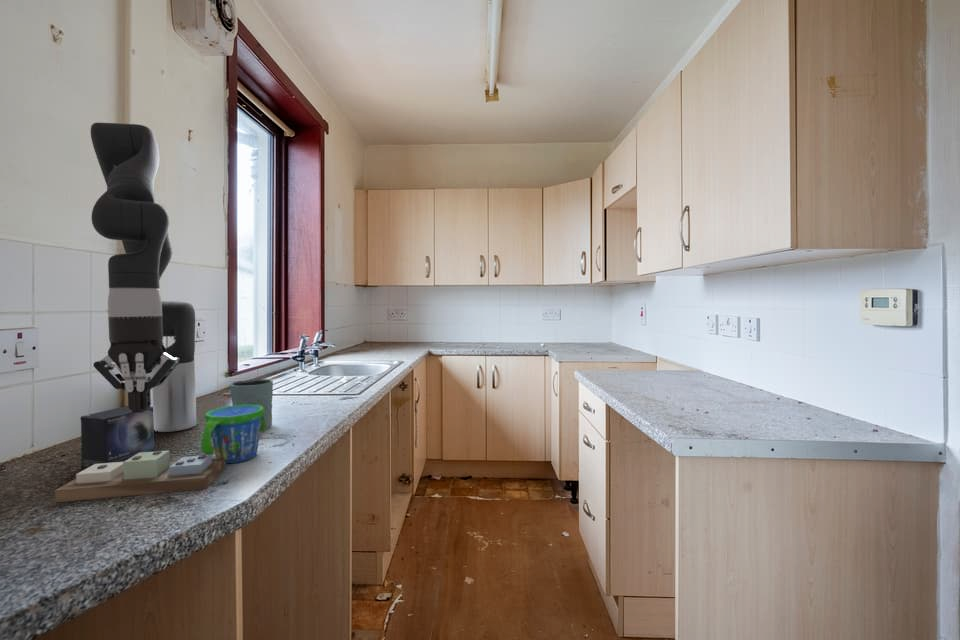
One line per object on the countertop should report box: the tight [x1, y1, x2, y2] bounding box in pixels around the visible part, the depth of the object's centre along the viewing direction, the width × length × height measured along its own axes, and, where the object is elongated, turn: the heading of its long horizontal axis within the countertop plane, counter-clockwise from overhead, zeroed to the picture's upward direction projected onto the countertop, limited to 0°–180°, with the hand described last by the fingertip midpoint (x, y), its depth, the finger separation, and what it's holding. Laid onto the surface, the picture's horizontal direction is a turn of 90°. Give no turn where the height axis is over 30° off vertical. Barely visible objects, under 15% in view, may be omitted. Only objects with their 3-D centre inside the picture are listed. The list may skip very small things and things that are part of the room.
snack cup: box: [200, 405, 267, 464], centre depth 91 cm, size 16×10×10 cm
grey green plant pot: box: [229, 378, 274, 429], centre depth 115 cm, size 10×10×12 cm
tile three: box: [169, 454, 213, 476], centre depth 80 cm, size 5×5×4 cm
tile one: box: [75, 462, 124, 484], centre depth 77 cm, size 5×5×4 cm
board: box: [54, 458, 226, 503], centre depth 79 cm, size 10×22×2 cm, turn 102°
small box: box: [80, 405, 155, 469], centre depth 91 cm, size 11×6×10 cm, turn 168°
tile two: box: [123, 450, 171, 480], centre depth 79 cm, size 5×5×4 cm
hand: (139, 411), depth 78 cm, fingers closed
